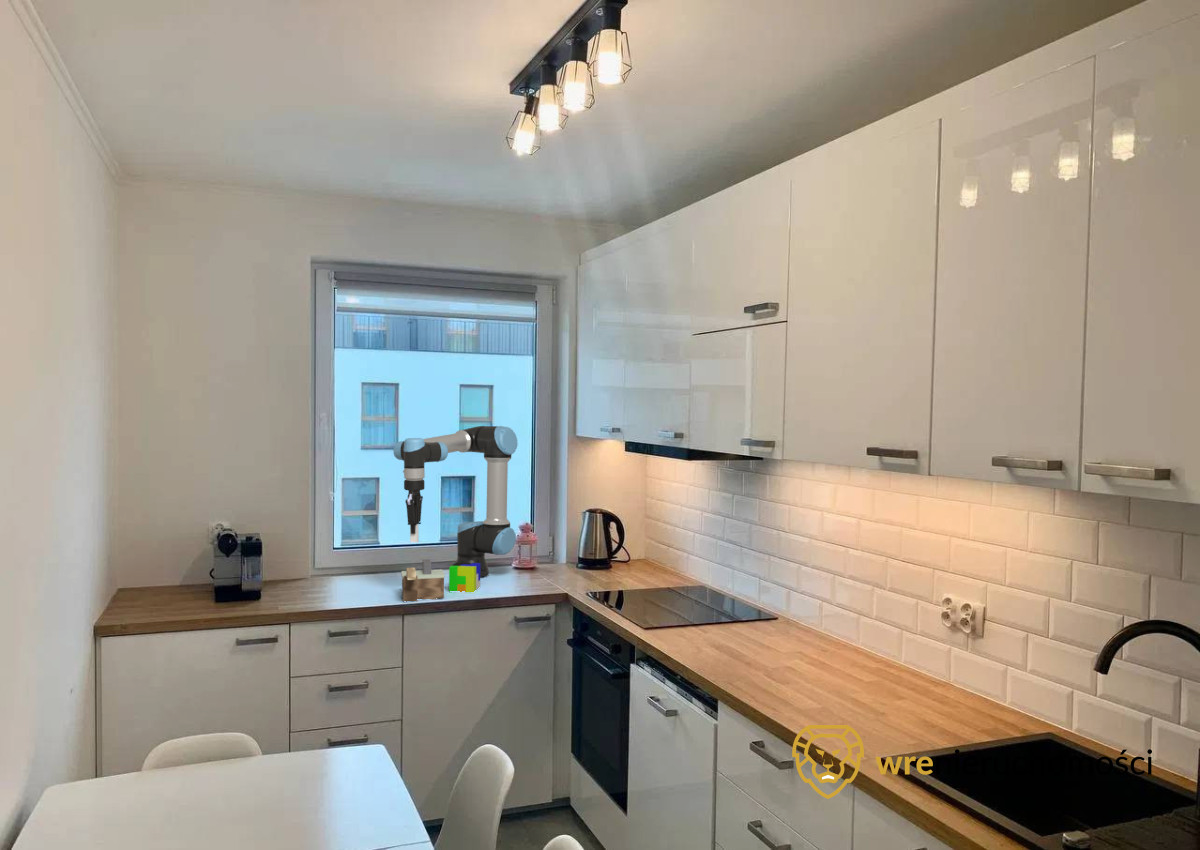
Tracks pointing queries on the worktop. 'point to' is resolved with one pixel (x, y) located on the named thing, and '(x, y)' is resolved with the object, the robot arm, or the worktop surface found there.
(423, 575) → the lid
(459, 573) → the puzzle toy
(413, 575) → the light wooden block
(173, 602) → the worktop surface
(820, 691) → the worktop surface
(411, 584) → the box
